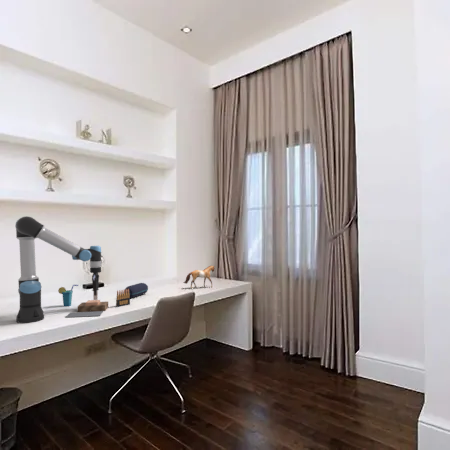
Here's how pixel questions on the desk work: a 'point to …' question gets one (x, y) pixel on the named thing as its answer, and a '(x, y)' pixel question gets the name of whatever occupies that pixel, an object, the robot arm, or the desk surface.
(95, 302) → the coaster
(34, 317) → the robot arm
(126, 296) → the ammunition clip
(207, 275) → the horse figurine
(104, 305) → the deck
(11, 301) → the desk surface
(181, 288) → the desk surface
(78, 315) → the mat
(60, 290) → the cup
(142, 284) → the portable speaker
